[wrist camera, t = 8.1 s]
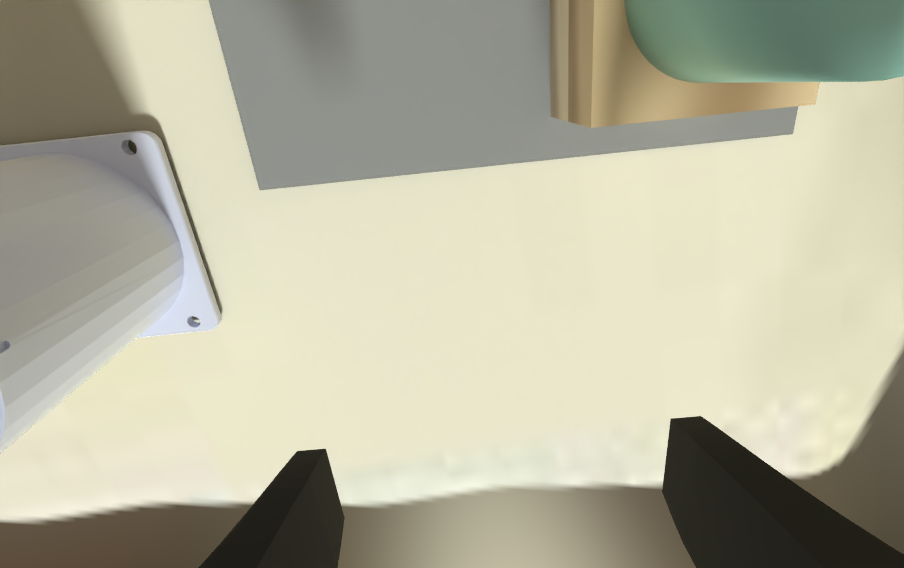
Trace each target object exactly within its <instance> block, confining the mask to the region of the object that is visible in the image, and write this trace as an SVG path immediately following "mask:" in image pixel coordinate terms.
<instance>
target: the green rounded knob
mask: <svg viewBox="0 0 904 568" xmlns="http://www.w3.org/2000/svg"><path fill="white" fill-rule="evenodd" d="M625 11H626V17H627V22H628V25H629V29H630V32H631V34H632V37H633V39H634V41H635V44H636V45H637V47H638V48H639V50H640V52H641V53H642V54H643V56H644V57H645V58H646V59H647V60H648V62H649V63H651V64H652V65H653V66H654V67H655V68H656V69H658V70H659V71H661V72H662V73H664V74H666V75H667V76H670V77H672V78H675V79H677V80H682V81H686V82H695V83H739V82H861V81H879V80H887V79H892V78H897V77H902V76H904V0H625Z"/></svg>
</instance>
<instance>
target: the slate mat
mask: <svg viewBox="0 0 904 568" xmlns="http://www.w3.org/2000/svg"><path fill="white" fill-rule="evenodd" d="M209 3H210V7H211V10H212V14H213V18H214V22H215V25H216V29H217V33H218V37H219V40H220V44H221V48H222V51H223V55H224V59H225V63H226V66H227V70H228V74H229V78H230V81H231V85H232V89H233V92H234V96H235V100H236V104H237V107H238V111H239V115H240V118H241V122H242V126H243V130H244V133H245V137H246V141H247V145H248V148H249V152H250V156H251V159H252V163H253V167H254V171H255V174H256V178H257V182H258V186H259V189H260V190H267V189H276V188H286V187H295V186H305V185H314V184H324V183H333V182H343V181H352V180H362V179H371V178H381V177H390V176H400V175H409V174H419V173H428V172H438V171H447V170H456V169H466V168H475V167H485V166H494V165H504V164H513V163H523V162H532V161H542V160H551V159H561V158H570V157H580V156H589V155H599V154H608V153H618V152H627V151H637V150H646V149H655V148H665V147H674V146H684V145H693V144H703V143H712V142H722V141H731V140H741V139H750V138H760V137H769V136H779V135H788V134H793V130H794V125H795V120H796V115H797V110H798V106H794V107H785V108H775V109H766V110H756V111H747V112H737V113H728V114H719V115H709V116H700V117H690V118H681V119H671V120H662V121H652V122H643V123H633V124H624V125H614V126H605V127H595V128H589V127H586V126H582V125H578V124H575V123H571V122H567V121H564V120H560V119H557V118H553V117H551V66H550V0H209Z"/></svg>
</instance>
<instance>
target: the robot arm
mask: <svg viewBox="0 0 904 568" xmlns="http://www.w3.org/2000/svg"><path fill="white" fill-rule="evenodd" d="M129 140H131V141H132V142H134V143H135V145H136V147H137V152H136V153H134V152H132V151H131V150H130V149H129V147H128V142H129ZM192 316H194V317H197V318H198V319H199V320H200V323H197V322H195V321H194V320H193V319H192ZM221 320H222V318H221V314H220V311H219V308H218V305H217V302H216V299H215V296H214V293H213V290H212V287H211V284H210V281H209V278H208V275H207V272H206V269H205V266H204V264H203V261H202V258H201V255H200V252H199V249H198V246H197V243H196V240H195V237H194V234H193V231H192V228H191V225H190V222H189V219H188V217H187V214H186V211H185V208H184V205H183V202H182V199H181V196H180V193H179V190H178V187H177V184H176V181H175V178H174V175H173V172H172V170H171V167H170V164H169V161H168V158H167V155H166V152H165V149H164V146H163V143H162V141H161V140H160V138H159V137H158V136H157V135H156V134H155V133H153V132H151V131H146V130H142V131H133V132H123V133H114V134H104V135H95V136H86V137H76V138H67V139H58V140H48V141H39V142H29V143H20V144H11V145H1V146H0V453H1V452H3V451H4V450H5V449H6V448H7V447H8V446H10V445H11V444H12V443H13V442H14V441H16V440H17V439H18V438H19V437H20V436H21V435H23V434H24V433H25V432H26V431H27V430H29V429H30V428H31V427H32V426H33V425H34V424H36V423H37V422H38V421H39V420H40V419H41V418H43V417H44V416H45V415H46V414H47V413H49V412H50V411H51V410H52V409H53V408H54V407H56V406H57V405H58V404H59V403H60V402H62V401H63V400H64V399H65V398H66V397H67V396H69V395H70V394H71V393H72V392H73V391H75V390H76V389H77V388H78V387H79V386H80V385H82V384H83V383H84V382H85V381H86V380H87V379H89V378H90V377H91V376H92V375H93V374H95V373H96V372H97V371H98V370H99V369H100V368H102V367H103V366H104V365H105V364H106V363H108V362H109V361H110V360H111V359H112V358H113V357H115V356H116V355H117V354H118V353H119V352H121V351H122V350H123V349H124V348H125V347H126V346H128V345H129V344H130V343H131V342H132V341H134V340H135V339H136V338H143V337H152V336H162V335H172V334H181V333H191V332H201V331H210V330H213V329H215V328H216V327H217V326H218V325H219V324H220V323H221ZM662 492H663V495H664V497H665V500H666V502H667V505H668V507H669V510H670V513H671V515H672V518H673V520H674V523H675V525H676V527H677V529H678V532H679V534H680V537H681V539H682V541H683V544H684V545H685V547H686V549H687V551H688V553H689V555H690V557H691V559H692V561H693V562H694V564H695V566H696V568H904V554H902V553H900V552H899V551H897V550H895V549H894V548H892V547H891V546H889V545H887V544H886V543H884V542H883V541H881V540H880V539H878V538H876V537H875V536H873V535H872V534H870V533H869V532H867V531H865V530H864V529H862V528H861V527H859V526H858V525H856V524H854V523H853V522H851V521H850V520H848V519H847V518H845V517H844V516H842V515H841V514H839V513H838V512H836V511H835V510H833V509H832V508H830V507H829V506H827V505H826V504H824V503H823V502H821V501H820V500H818V499H817V498H815V497H814V496H812V495H811V494H810V493H808V492H806V491H805V490H804V489H802V488H801V487H799V486H798V485H797V484H795V483H794V482H792V481H791V480H789V479H788V478H786V477H785V476H784V475H782V474H781V473H779V472H778V471H777V470H775V469H774V468H772V467H771V466H770V465H768V464H767V463H765V462H764V461H763V460H761V459H760V458H759V457H757V456H756V455H754V454H753V453H752V452H750V451H749V450H747V449H746V448H745V447H743V446H742V445H741V444H739V443H738V442H736V441H735V440H734V439H732V438H731V437H729V436H728V435H727V434H725V433H724V432H723V431H721V430H720V429H718V428H717V427H716V426H714V425H713V424H711V423H710V422H708V421H707V420H706V419H704V418H703V417H701V416H698V417H686V418H675V419H671V422H670V430H669V439H668V447H667V456H666V464H665V473H664V481H663V490H662ZM343 524H344V515H343V511H342V507H341V504H340V500H339V496H338V493H337V489H336V485H335V481H334V478H333V474H332V470H331V467H330V463H329V459H328V456H327V452H326V449H318V450H306V451H297V452H296V453H295V454H294V456H293V457H292V458H291V459H290V460H289V462H288V463H287V464H286V465H285V466H284V467H283V469H282V470H281V471H280V472H279V474H278V475H277V476H276V477H275V478H274V480H273V481H272V482H271V483H270V485H269V486H268V487H267V488H266V490H265V491H264V492H263V493H262V494H261V496H260V497H259V498H258V499H257V501H256V502H255V503H254V504H253V505H252V507H251V508H250V509H249V510H248V511H247V513H246V514H245V515H244V516H243V517H242V519H241V520H240V521H239V522H238V523H237V524H236V526H235V527H234V528H233V529H232V530H231V531H230V533H229V534H228V535H227V536H226V537H225V538H224V540H223V541H222V542H221V543H220V545H218V547H217V548H216V549H215V550H214V551H213V552H212V553H211V555H210V556H209V557H208V558H207V559H206V560H205V561H204V562H203V563H202V564H201V566H200V567H199V568H337V567H338V560H339V554H340V547H341V540H342V532H343Z"/></svg>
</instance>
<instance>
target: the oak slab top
mask: <svg viewBox="0 0 904 568" xmlns="http://www.w3.org/2000/svg"><path fill="white" fill-rule="evenodd" d="M819 83H820V82H739V83H695V82H686V81H682V80H677V79H675V78H672V77H670V76H667V75H666V74H664V73H662V72H661V71H659V70H658V69H656V68H655V67H654V66H653V65H652V64H651V63H649V62H648V60H647V59H646V58H645V57H644V56H643V54H642V53H641V52H640V50H639V48H638V47H637V45H636V44H635V41H634V39H633V37H632V34H631V32H630V29H629V25H628V22H627V17H626V11H625V0H569V32H568V122H571V123H575V124H578V125H582V126H586V127H589V128H595V127H605V126H614V125H624V124H633V123H643V122H652V121H662V120H671V119H681V118H690V117H700V116H709V115H719V114H728V113H737V112H747V111H756V110H766V109H775V108H785V107H794V106H804V105H813V104H815V103H816V98H817V93H818V88H819Z"/></svg>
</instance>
